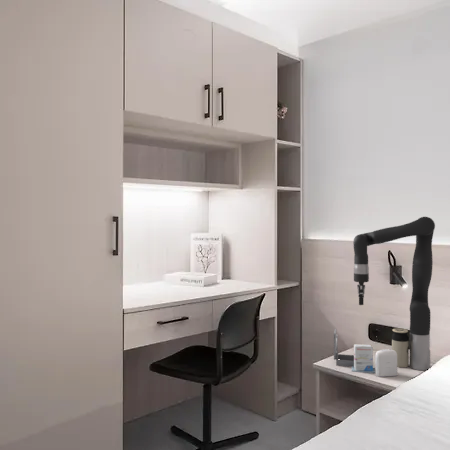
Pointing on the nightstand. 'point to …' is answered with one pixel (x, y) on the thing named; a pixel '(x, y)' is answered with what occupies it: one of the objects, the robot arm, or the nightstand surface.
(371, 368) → the ink box
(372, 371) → the pad
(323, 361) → the nightstand surface
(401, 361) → the travel mug
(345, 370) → the nightstand surface
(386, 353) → the photo printer
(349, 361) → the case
